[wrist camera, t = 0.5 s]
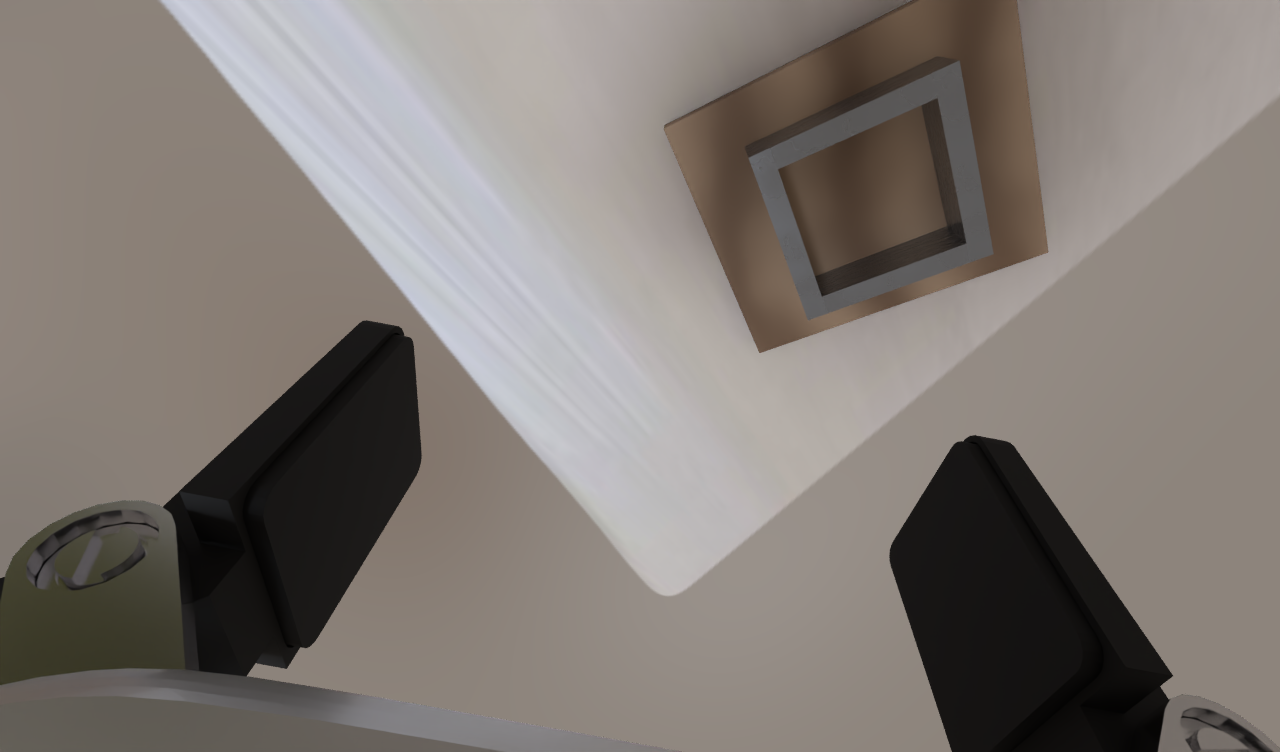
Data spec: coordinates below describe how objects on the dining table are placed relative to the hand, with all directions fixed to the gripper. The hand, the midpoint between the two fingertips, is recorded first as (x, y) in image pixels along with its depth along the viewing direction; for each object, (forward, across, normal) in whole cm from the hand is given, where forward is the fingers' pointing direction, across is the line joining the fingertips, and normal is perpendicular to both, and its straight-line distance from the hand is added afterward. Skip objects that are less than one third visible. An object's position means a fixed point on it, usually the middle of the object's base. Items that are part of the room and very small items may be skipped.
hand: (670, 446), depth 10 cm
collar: (+27, -10, +1) cm, 29 cm away
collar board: (+28, -10, +1) cm, 30 cm away
